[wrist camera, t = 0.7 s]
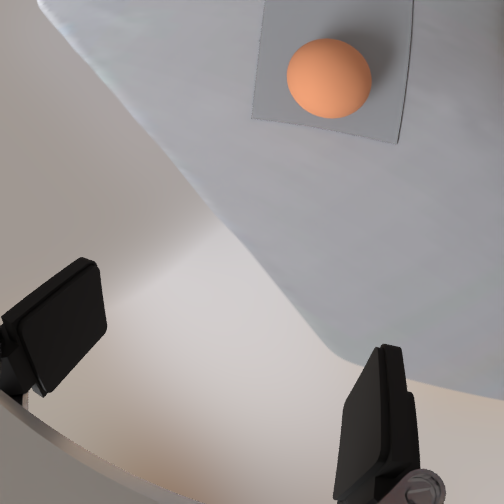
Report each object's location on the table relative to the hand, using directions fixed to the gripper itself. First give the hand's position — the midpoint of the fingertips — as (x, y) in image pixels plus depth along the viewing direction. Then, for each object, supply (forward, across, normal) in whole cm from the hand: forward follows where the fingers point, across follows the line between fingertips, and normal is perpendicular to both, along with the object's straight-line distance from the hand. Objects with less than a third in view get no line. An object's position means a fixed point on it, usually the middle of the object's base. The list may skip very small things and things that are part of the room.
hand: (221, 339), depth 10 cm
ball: (+16, -1, -9) cm, 19 cm away
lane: (+19, 0, -21) cm, 29 cm away
